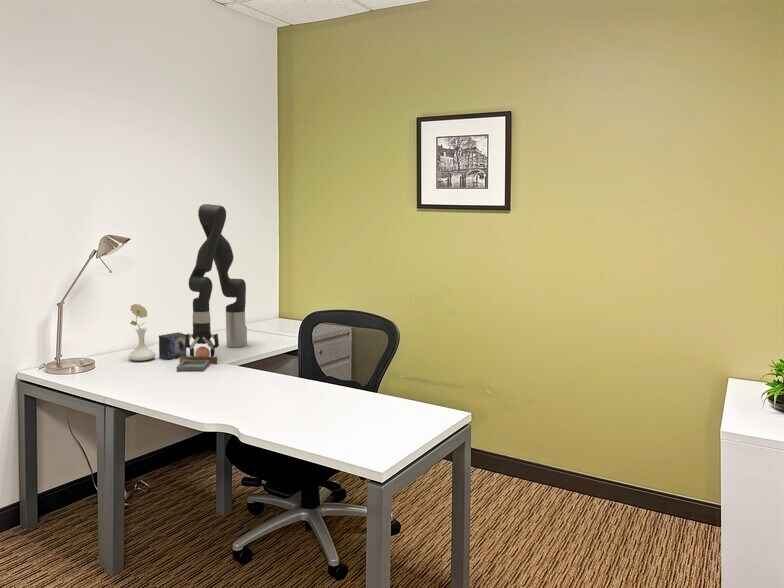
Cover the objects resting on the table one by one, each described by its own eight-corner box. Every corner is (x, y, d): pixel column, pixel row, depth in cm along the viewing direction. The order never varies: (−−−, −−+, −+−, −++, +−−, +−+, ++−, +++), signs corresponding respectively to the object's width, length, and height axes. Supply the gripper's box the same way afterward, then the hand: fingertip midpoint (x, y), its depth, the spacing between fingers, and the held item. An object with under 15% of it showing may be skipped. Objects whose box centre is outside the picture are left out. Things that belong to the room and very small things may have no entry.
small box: (167, 360, 284) (166, 337, 283) (158, 358, 288) (157, 335, 287) (187, 356, 293) (186, 333, 291) (178, 354, 297) (178, 332, 295)
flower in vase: (161, 359, 287) (159, 303, 283) (138, 363, 278) (135, 306, 274) (144, 354, 294) (142, 301, 291) (121, 359, 285) (118, 304, 282)
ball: (202, 357, 290) (202, 344, 290) (212, 359, 288) (212, 346, 287) (192, 360, 285) (192, 347, 284) (202, 361, 282) (202, 348, 281)
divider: (180, 363, 280) (180, 356, 279) (217, 363, 280) (217, 356, 280) (179, 363, 279) (179, 357, 278) (216, 363, 279) (216, 357, 279)
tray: (184, 364, 277) (183, 360, 276) (209, 364, 277) (209, 360, 277) (176, 371, 266) (176, 366, 266) (203, 371, 266) (203, 366, 266)
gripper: (182, 322, 280) (184, 358, 282) (215, 322, 281) (216, 358, 283) (187, 319, 287) (188, 354, 290) (219, 319, 288) (220, 355, 290)
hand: (202, 356), depth 286 cm, fingers open, 8 cm apart
